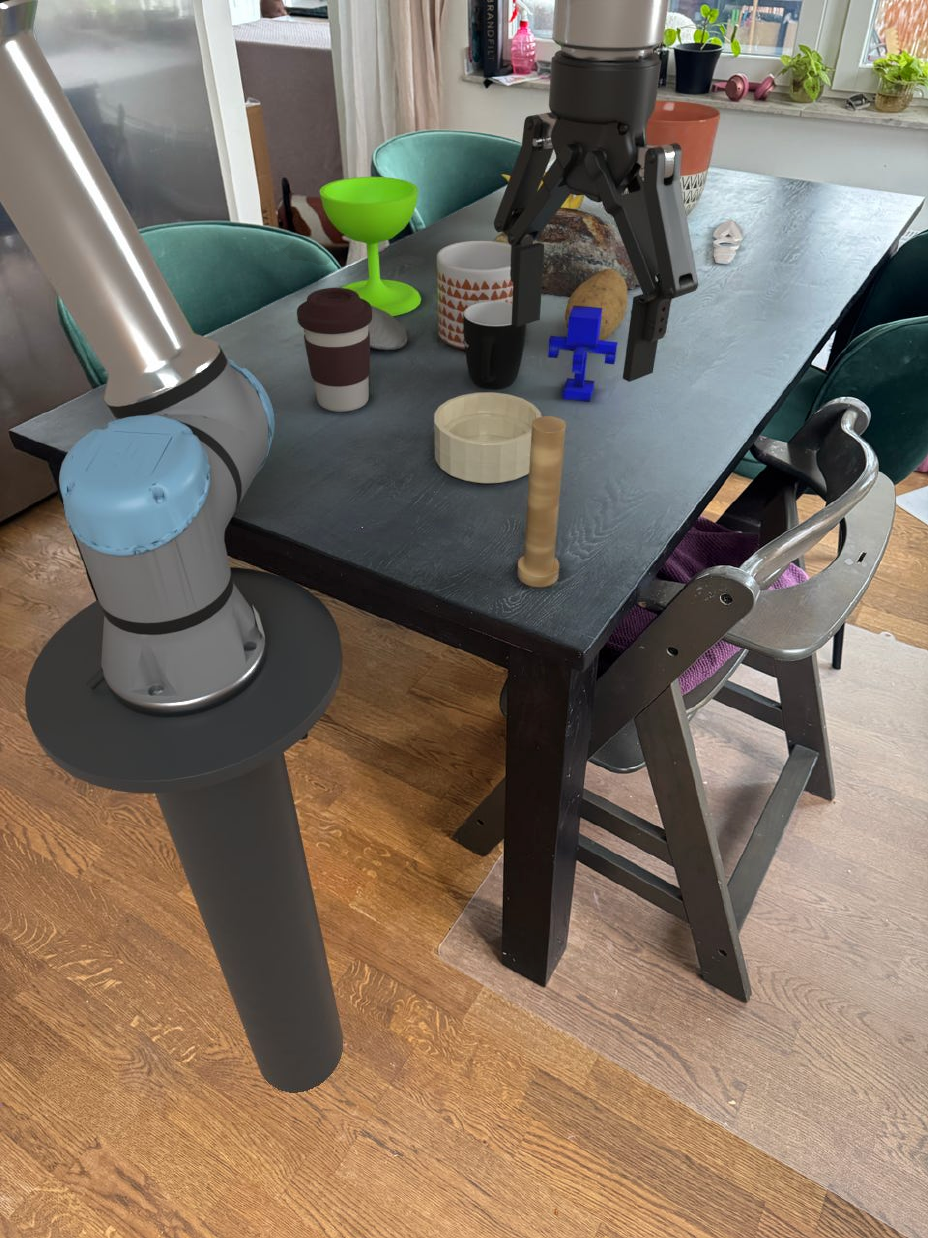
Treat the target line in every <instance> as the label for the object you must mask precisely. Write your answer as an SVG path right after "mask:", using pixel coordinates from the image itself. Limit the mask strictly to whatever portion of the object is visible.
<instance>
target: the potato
mask: <svg viewBox="0 0 928 1238" xmlns="http://www.w3.org/2000/svg"><path fill="white" fill-rule="evenodd" d="M573 305H575V306H586V307H596V308H602V317H601V326H600V335H599V339H598V340H601V341H606V339H608V337H610V336H611V335H612V334H613V333H614V332H615V331H616V329H617V328H618V327H619V326H620V325H621V324H622V322H623V321H624V319H625V316H626V312H627V308H628V289H627V286H626V282H625V280H624V279H623V277H622V276H621V275H620V273H619V272H618V271H616V270H614V269H603V270H601V271H600V272H598V273H597V274H595V275H594V276H592V277H591V278H590V279H588V280H587V281H585V282H583V283H582V284H581V285H580V286H579V287H578V288H577V289H576V290H575V291H574V292H573V294H572V295H571V296H569V299H568V301H567V305H566V308H565V313H564V314H565V315H564V322H565V324H566V327H567V329H568V323H569V315H570V313H571V310H572V308H573Z"/></svg>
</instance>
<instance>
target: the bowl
mask: <svg viewBox="0 0 928 1238" xmlns="http://www.w3.org/2000/svg"><path fill="white" fill-rule="evenodd" d="M539 417H543V416H542V413H541V411H540V409H539V408H538V407H536V405H535V404H533V403H532V402H530V401H528V400H526V399H524V398H522V397H520V396H515V395H513V394H508V393H501V392H487V391H486V392H485V391H484V392H473V393H472V392H471V393H467V394H466V393H465V394H461V395H458V396H456V397H453V398H450V399H448V400H446V401H445V402H443V403H442V404H440V405H439V406H438V407H437V409H435V411H434V413H433V429H434V431H433V432H434V435H433V436H434V461H435V462H436V464H437V465H438V467H439V468H440V469H441V471H444V472H445V473H446V474H448V475H449V476H452V477H454V478H457V479H459V480H463V481H466V482H472V483H479V484H499V483H505V482H511V481H515V480H518V479H521V478H522V477H524V476H527V475H529V465H530V448H531V431H532V422H533V421H534V420H535V419H536V418H539Z"/></svg>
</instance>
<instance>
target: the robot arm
mask: <svg viewBox="0 0 928 1238" xmlns="http://www.w3.org/2000/svg"><path fill="white" fill-rule="evenodd" d="M669 1H670V0H554V7H553V8H554V10H553V19H552V20H553V21H552V22H553V23H552V33H551V34H552V36H551V38H552V41H553V42H554V43H555V44H556V45H558V46H559V47H560V49H559V50H557V51H556V52H555V53H554V56H552V57H551V61H550V62H551V63H550V76H549V77H550V78H549V94H548V97H549V98H548V108H549V111H550V112H544V113H539V114H532V115H528V116H526V117H525V118H524V122H523V131H522V140H521V146H520V149H519V152H518V155H517V158H516V160H515V162H514V164H513V165H514V166H513V168H512V172H511V174H510V175H509V176H510V179H509V182H508V181H507V184H506V188H505V190H504V193H503V196H502V198H501V201H500V203H499V207H498V209H497V211H496V214H495V217H494V219H493V227H494V230H495V231H496V232H497V233H502V232H503V233H504V234H505V235H506V236H507V239H508V242H509V244H510V245H511V266H510V268H511V269H510V277H511V282H513V300H512V324H511V325H514V326H516V327H519V326H522V325H525V324H526V325H528V324H531V323H534V322H535V323H536V322H538V321H540V320H541V306H542V305H541V304H542V293H541V292H542V289H543V287H542V276H543V260H544V244H541V243H539V242H538V243H534V244H533V241H534V240H538V239H541V238H543V236H541V237H539V235H542V234H541V233H542V231H543V230H544V229H545V227H546V226H547V225H548V223H549V222H550V221H551V219H552V218H553V217H554V215H555V214H556V213H557V211H558V210H559V209H560V207H561V206H562V205H563V203H564V202H565V201H566V199H567V198H568V197H569V195H570V194H573V196H577V195H584V197H586V198H587V199H589V201H591V202H595V203H601V204H602V205H603V208H604V211H605V212H606V213H607V214H608V215H610V216H612V218H613V220H614V224H615V225H616V226H615V227H616V228H617V229H618V231H619V233H620V236H621V238H622V241H623V244H624V246H625V249H626V251H627V254H628V257H629V259H630V262H631V264H632V267H633V269H634V272H635V275H636V277H637V280H638V282H639V285H640V286H639V285H638V286H639V288H640V290H641V294H638V295H634V296H633V298H632V305H631V313H630V320H629V327H628V333H627V340H626V341H627V342H626V350H625V357H624V365H623V372H622V379H623V380H624V381H627V382H629V383H631V382H633V381H635V380H638V379H640V378H643V377H646V376H649V375H651V374H653V373H654V367H655V360H656V355H657V348H658V342H659V340H661V339H663V338H664V337H665V335H666V333H667V330H668V329H667V328H668V322H669V316H670V310H671V306H672V305H671V304H672V300H674V299H676V298H679V297H683V296H685V295H688V294H692V293H695V291H697V289H698V287H699V280H698V279H699V278H698V274H697V269H696V263H695V259H694V257H695V256H694V252H693V251H694V250H693V246H692V240H691V235H690V229H689V224H688V218H687V217H688V216H687V217H686V212H685V206H684V200H683V195H682V189H681V184H680V172H681V158H682V149H681V146H680V145H679V144H678V143H672V144H668V145H662V146H652V145H648V144H647V140H646V125H647V122H648V120H649V118H650V117H651V115H652V114H653V112H654V110H655V105H656V101H657V97H658V89H659V82H660V75H661V74H660V73H661V65H662V60H661V59H660V57H659V54H657V53H656V52H654V48H657V47H659V46H660V45H661V44H662V43H663V42H664V38H665V31H666V25H667V16H668V9H669ZM38 4H39V0H0V204H1V205H2V207H3V208H4V211H5V213H6V214H7V216H8V217H9V218H10V221H12V223H13V224H14V226H15V228H16V229H17V231H18V233H19V234H20V236H21V237H22V239H23V241H24V243H25V244H26V245H27V247H28V249H29V250H30V252H31V253H32V255H33V257H34V259H35V260H36V262H37V263H38V265H39V266H40V268H41V269H42V272H43V273H44V274H45V276H46V277H47V279H48V281H49V282H50V284H51V286H52V287H53V289H54V290H55V292H56V294H57V296H58V297H59V299H60V300H61V302H62V303H63V305H64V307H65V308H66V311H68V313H69V314H70V316H71V317H72V319H73V321H74V322H75V324H76V326H77V328H78V329H79V330H80V332H81V334H82V335H83V337H84V339H85V341H86V342H87V343H88V345H89V347H90V348H91V350H92V351H93V354H95V356H96V358H97V359H98V361H99V363H100V364H101V366H102V367H103V369H104V370H105V373H106V375H107V379H106V383H105V387H104V391H103V394H102V395H103V398H102V399H103V400H104V402H105V404H106V406H107V407H108V409H109V410H110V412H111V413H112V416H113V417H114V419H115V420H112V421H110V422H108V423H107V425H106V428H102V429H101V428H94V429H93V430H90V431H89V432H87V434H84V435H83V436H82V437H81V438H80V439H79V440H77V441H76V442H75V443H74V445H72V447H70V449H69V450H68V452H67V454H66V455H65V457H64V459H63V460H62V462H61V466H60V470H59V476H58V484H59V490H60V494H61V497H62V502H63V510H64V515H65V519H66V522H67V524H68V525H69V527H70V530H71V532H72V533H73V535H74V537H75V540H76V542H77V545H78V548H79V550H80V553H81V554H80V555H81V556H82V560H83V562H84V565H85V567H86V570H87V573H88V576H89V578H90V580H91V583H92V586H93V589H94V591H95V594H96V597H97V600H99V602H100V605H101V608H102V610H103V613H104V628H103V642H102V657H101V668H102V669H101V670H100V671H99V672H98V673H97V674H96V675H95V676H94V677H92V678H91V679H90V680H89V681H88V682H87V686H88V687H89V688H91V689H94V688H95V687H96V686H97V685H98V684H99V683H100V682H101V681H102V680H103V679H104V678H105V680H106V683H107V686H108V688H109V690H110V692H111V694H112V695H113V697H114V698H115V699H116V700H117V701H118V702H119V703H120V704H122V705H123V706H125V707H126V708H128V709H130V710H132V711H135V712H137V713H140V714H144V715H149V716H155V717H181V716H188V715H193V714H198V713H201V712H205V711H208V710H211V709H213V708H216V707H218V706H220V705H223V704H225V703H226V702H228V701H230V700H232V699H233V698H235V697H236V696H238V695H239V694H241V693H242V692H243V691H244V690H246V689H247V688H248V687H249V686H250V685H251V684H252V683H253V682H254V681H255V679H256V678H257V677H258V675H259V674H260V672H261V670H262V668H263V666H264V664H265V661H266V656H267V644H266V639H265V634H264V630H263V626H262V624H261V621H260V617H259V614H258V612H257V611H256V609H255V608H254V606H253V605H252V606H253V610H254V611H253V610H252V609H251V607H250V606H249V604H248V603H247V601H246V600H245V599H244V597H243V596H242V594H241V593H240V592H239V590H238V589H237V587H236V586H235V584H234V583H233V579H232V574H231V570H230V567H231V566H230V561H229V556H228V551H227V548H226V543H225V533H226V529H227V527H228V525H229V524H230V522H231V520H232V519H233V516H234V514H235V513H236V511H237V509H238V507H239V506H240V505H241V503H242V501H243V499H244V497H245V495H246V494H247V492H248V489H249V488H250V486H251V484H252V483H253V480H254V479H255V478H256V476H257V475H258V474H259V472H260V471H261V470H262V468H263V467H264V465H265V463H266V461H267V458H268V457H269V452H270V449H271V445H272V442H273V439H274V434H275V425H276V424H275V413H274V408H273V405H272V402H271V400H270V397H269V394H268V393H267V391H266V389H265V387H264V386H263V384H262V383H261V381H259V379H258V378H257V377H256V375H254V374H253V373H252V372H251V371H250V370H249V369H247V368H246V367H240V366H239V365H237V364H236V361H234V360H232V359H230V358H227V357H226V354H225V353H224V351H223V349H222V347H221V345H220V344H219V343H218V341H217V340H215V339H212V338H209V337H207V336H205V335H201V334H198V333H196V332H195V331H194V330H193V328H192V326H191V324H190V323H189V321H188V319H187V317H186V315H185V313H184V312H183V309H182V307H181V306H180V304H179V302H178V300H177V299H176V297H175V294H174V293H173V291H172V289H171V287H170V285H169V283H168V282H167V280H166V278H165V276H164V274H163V273H162V271H161V269H160V267H159V265H158V264H157V261H156V260H155V258H154V256H153V254H152V252H151V250H150V249H149V247H148V245H147V243H146V241H145V239H144V237H143V236H142V234H141V232H140V230H139V228H138V227H137V225H136V222H135V221H134V219H133V217H132V215H131V214H130V212H129V210H128V207H127V206H126V205H125V202H124V201H123V199H122V197H121V195H120V193H119V192H118V189H117V188H116V186H115V184H114V182H113V180H112V178H111V176H110V175H109V173H108V171H107V169H106V168H105V166H104V164H103V162H102V159H101V158H100V156H99V154H98V153H97V151H96V149H95V147H94V145H93V143H92V141H91V140H90V138H89V136H88V134H87V132H86V130H85V128H84V127H83V125H82V123H81V121H80V119H79V118H78V115H77V113H76V112H75V110H74V108H73V106H72V104H71V102H70V100H69V98H68V96H67V95H66V93H65V91H64V90H63V88H62V86H61V84H60V82H59V80H58V79H57V76H56V75H55V73H54V71H53V69H52V67H51V65H50V64H49V62H48V60H47V58H46V56H45V55H44V52H43V51H42V48H41V47H40V45H39V43H38V42H37V40H36V37H35V33H34V32H35V31H34V26H35V19H36V14H37V9H38ZM553 153H554V155H555V159H554V160H553V162H552V164H551V165H550V167H549V164H550V161H551V159H552V156H553ZM548 167H549V168H548ZM641 167H642V169H641ZM547 169H548V170H547ZM545 172H546V174H545V175H544V173H545ZM543 176H544V177H543ZM642 178H644V181H643V179H642ZM541 181H543V184H542V185H541V187H540V188H539V186H540V183H541ZM538 188H539V189H538ZM626 188H627V189H628V192H629V193H628V194H624V195H622V194H623V192H624V191H625V190H626Z"/></svg>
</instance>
